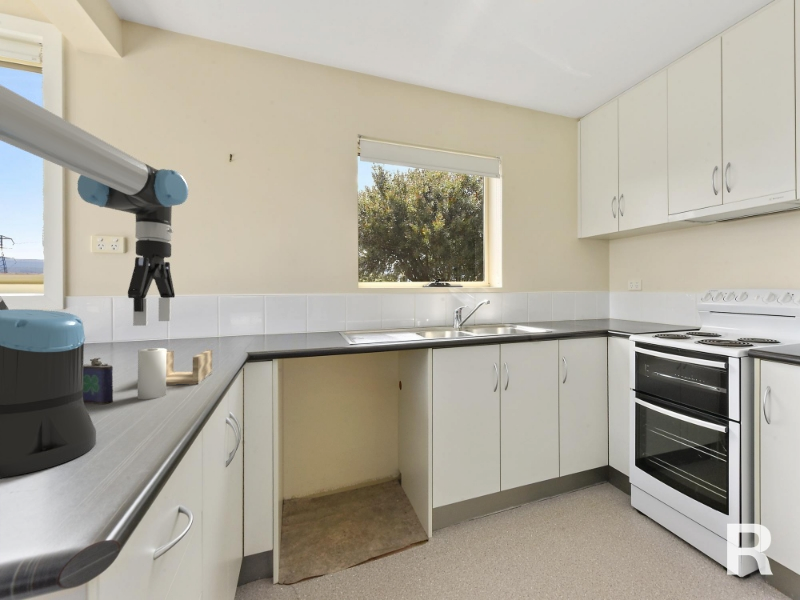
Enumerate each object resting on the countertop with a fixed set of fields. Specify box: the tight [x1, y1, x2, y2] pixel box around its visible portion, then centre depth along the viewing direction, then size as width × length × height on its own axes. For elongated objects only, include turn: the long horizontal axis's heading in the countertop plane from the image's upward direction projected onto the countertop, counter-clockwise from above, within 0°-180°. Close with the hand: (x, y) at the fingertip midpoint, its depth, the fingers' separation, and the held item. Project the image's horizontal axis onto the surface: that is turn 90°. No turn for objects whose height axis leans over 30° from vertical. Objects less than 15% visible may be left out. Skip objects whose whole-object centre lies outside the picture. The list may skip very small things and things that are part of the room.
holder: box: [166, 349, 213, 386], centre depth 107 cm, size 14×13×8 cm
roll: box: [137, 347, 168, 400], centre depth 90 cm, size 6×6×12 cm
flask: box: [83, 357, 114, 405], centre depth 84 cm, size 9×3×11 cm, turn 83°
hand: (153, 323), depth 90 cm, fingers open, 13 cm apart
